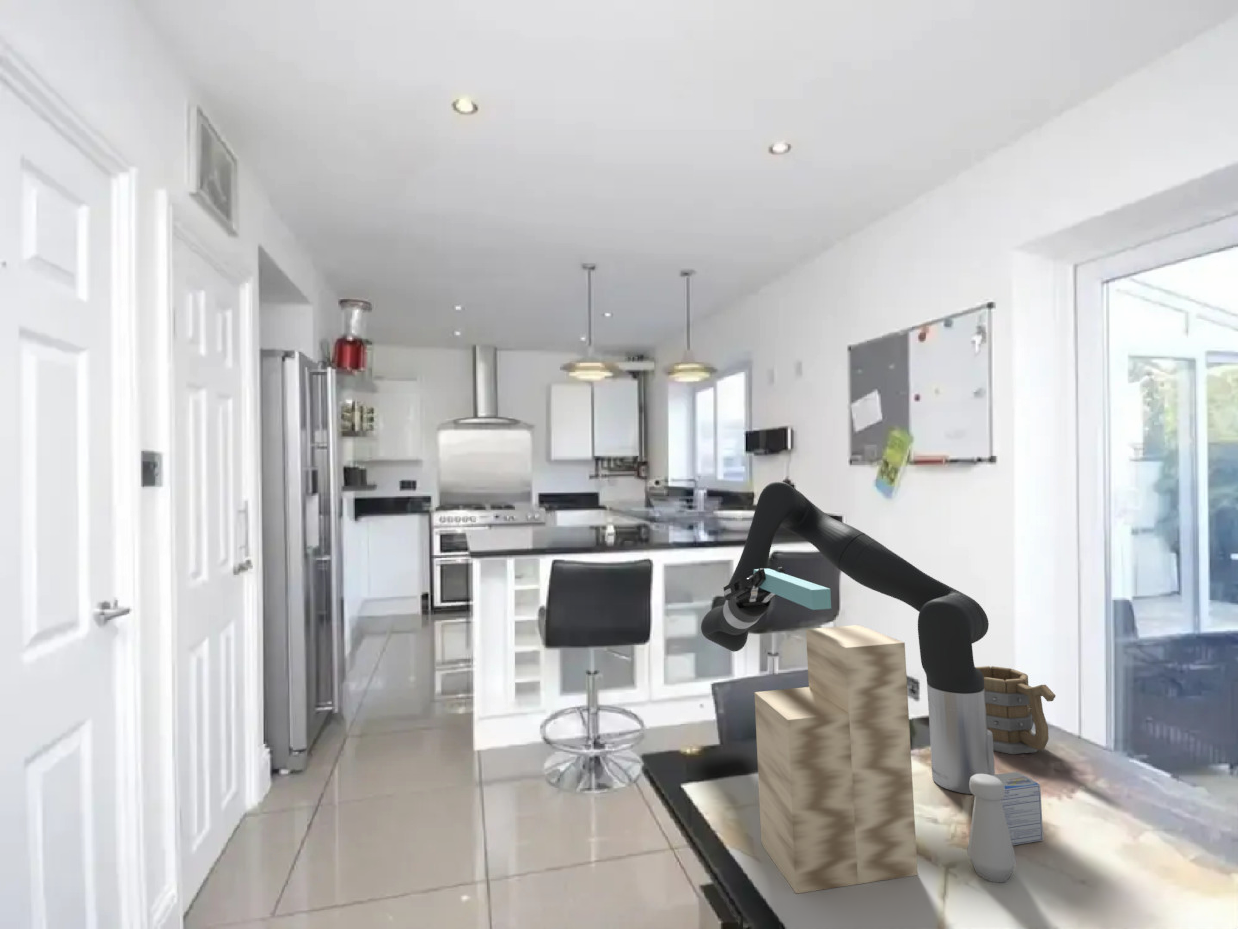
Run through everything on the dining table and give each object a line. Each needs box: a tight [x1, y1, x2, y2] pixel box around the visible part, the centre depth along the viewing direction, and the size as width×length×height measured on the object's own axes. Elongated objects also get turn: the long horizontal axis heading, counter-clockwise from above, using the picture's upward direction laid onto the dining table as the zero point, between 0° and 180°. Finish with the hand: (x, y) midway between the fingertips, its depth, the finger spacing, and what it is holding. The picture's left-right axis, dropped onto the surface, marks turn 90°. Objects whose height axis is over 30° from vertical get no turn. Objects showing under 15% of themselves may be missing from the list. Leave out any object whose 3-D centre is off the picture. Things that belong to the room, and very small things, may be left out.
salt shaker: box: [966, 774, 1017, 883], centre depth 87 cm, size 6×6×13 cm
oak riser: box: [753, 624, 919, 894], centre depth 92 cm, size 18×12×32 cm, turn 100°
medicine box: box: [991, 771, 1044, 846], centre depth 95 cm, size 8×4×9 cm, turn 100°
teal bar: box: [754, 568, 832, 611], centre depth 107 cm, size 3×24×3 cm, turn 9°
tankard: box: [975, 665, 1056, 755], centre depth 126 cm, size 20×13×15 cm, turn 6°
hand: (772, 573), depth 114 cm, fingers closed on teal bar, 3 cm apart
